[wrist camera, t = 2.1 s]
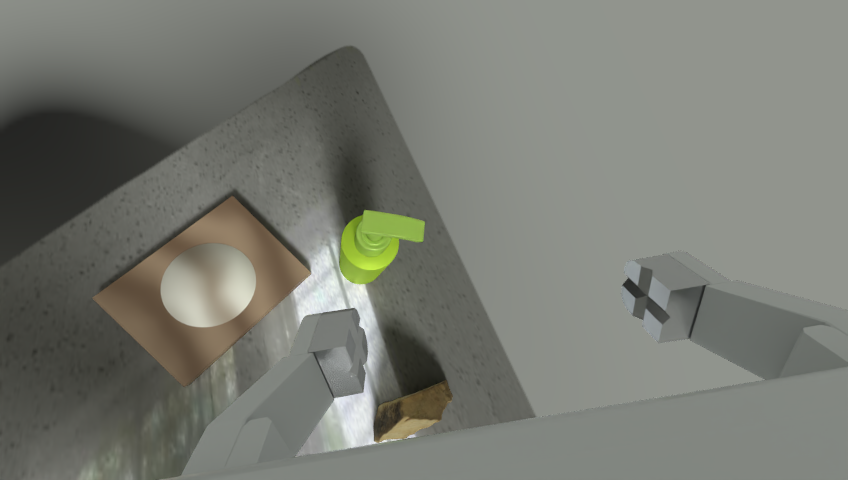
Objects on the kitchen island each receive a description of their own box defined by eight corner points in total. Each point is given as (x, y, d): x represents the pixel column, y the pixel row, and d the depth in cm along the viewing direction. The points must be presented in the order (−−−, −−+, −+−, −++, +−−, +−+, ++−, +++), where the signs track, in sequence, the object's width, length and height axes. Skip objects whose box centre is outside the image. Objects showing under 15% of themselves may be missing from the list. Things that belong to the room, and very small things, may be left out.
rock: (461, 360, 44) (390, 352, 41) (486, 417, 37) (402, 413, 33) (433, 418, 48) (366, 415, 44) (451, 481, 40) (371, 482, 37)
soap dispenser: (386, 287, 46) (422, 263, 28) (336, 281, 45) (337, 251, 26) (391, 247, 48) (428, 198, 29) (343, 239, 46) (348, 183, 28)
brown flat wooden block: (189, 384, 38) (183, 387, 37) (101, 298, 38) (91, 297, 36) (311, 273, 44) (310, 272, 43) (235, 199, 44) (232, 195, 43)
